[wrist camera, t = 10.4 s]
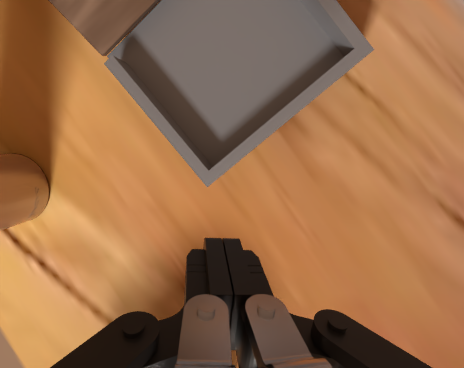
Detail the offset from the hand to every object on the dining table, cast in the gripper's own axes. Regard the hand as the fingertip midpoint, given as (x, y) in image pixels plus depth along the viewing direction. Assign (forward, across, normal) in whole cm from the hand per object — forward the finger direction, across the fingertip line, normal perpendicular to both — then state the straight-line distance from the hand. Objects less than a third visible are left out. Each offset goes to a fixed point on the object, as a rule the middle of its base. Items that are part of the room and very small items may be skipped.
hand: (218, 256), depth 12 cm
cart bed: (+24, -3, -10) cm, 26 cm away
